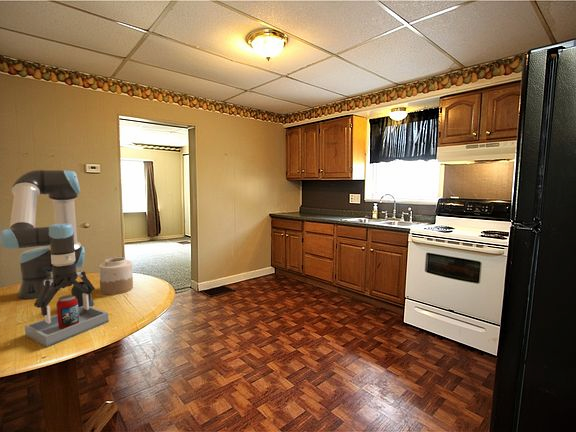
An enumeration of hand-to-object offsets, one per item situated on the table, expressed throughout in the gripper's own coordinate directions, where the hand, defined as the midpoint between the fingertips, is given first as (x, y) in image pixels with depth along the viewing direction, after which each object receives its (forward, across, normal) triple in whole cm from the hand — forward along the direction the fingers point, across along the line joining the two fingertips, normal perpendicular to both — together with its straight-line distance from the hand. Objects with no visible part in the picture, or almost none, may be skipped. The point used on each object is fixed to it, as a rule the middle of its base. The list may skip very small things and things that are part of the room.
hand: (68, 315), depth 118 cm
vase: (+6, +35, +24) cm, 43 cm away
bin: (+6, 0, 0) cm, 6 cm away
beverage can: (+5, 0, 0) cm, 5 cm away
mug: (+6, +15, +19) cm, 25 cm away
